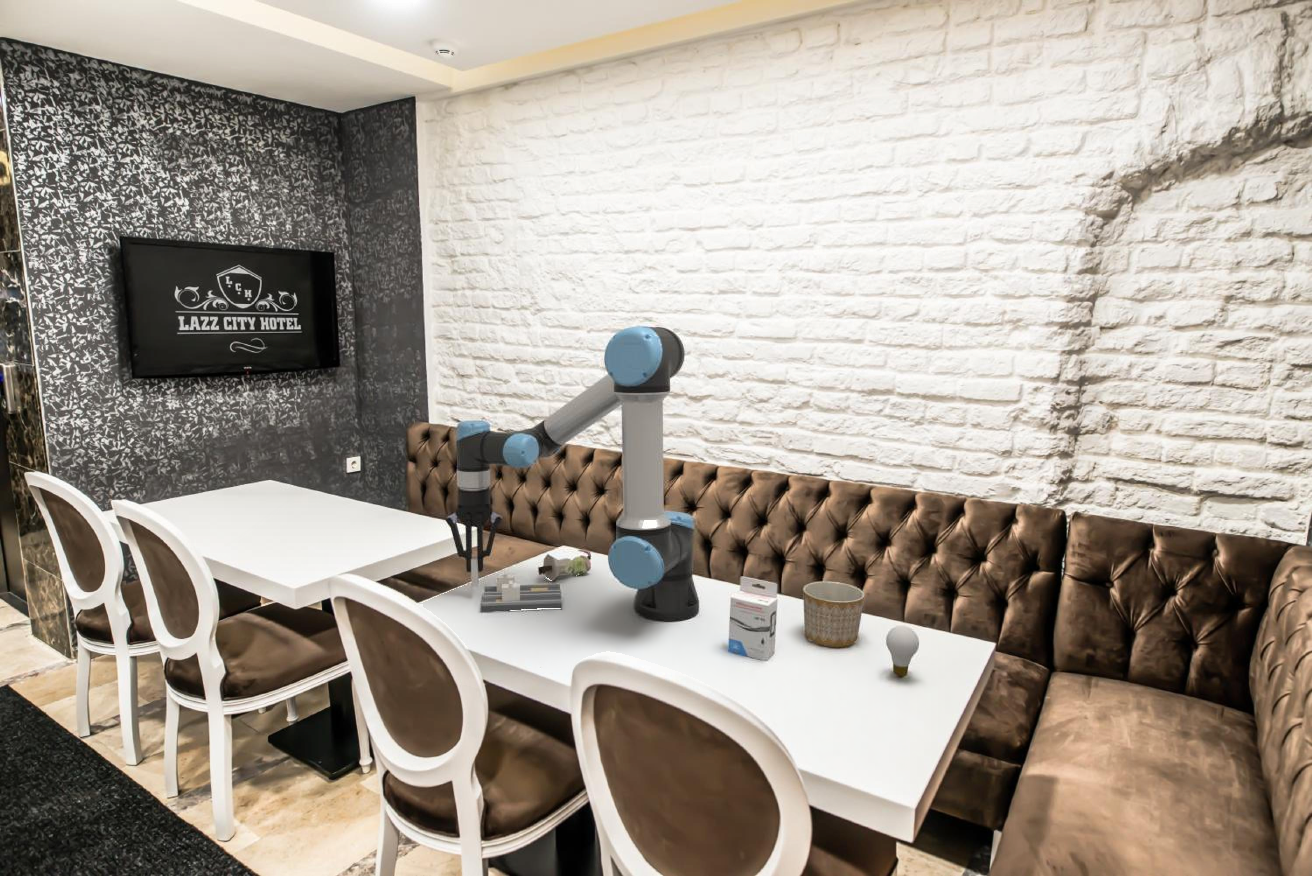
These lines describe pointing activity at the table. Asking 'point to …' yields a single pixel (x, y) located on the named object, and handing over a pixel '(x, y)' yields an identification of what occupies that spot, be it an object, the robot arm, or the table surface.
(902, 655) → the light bulb
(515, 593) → the tab
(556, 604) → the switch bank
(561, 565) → the figurine
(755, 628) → the ink box
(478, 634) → the table surface
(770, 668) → the table surface
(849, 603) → the planter
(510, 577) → the tab
